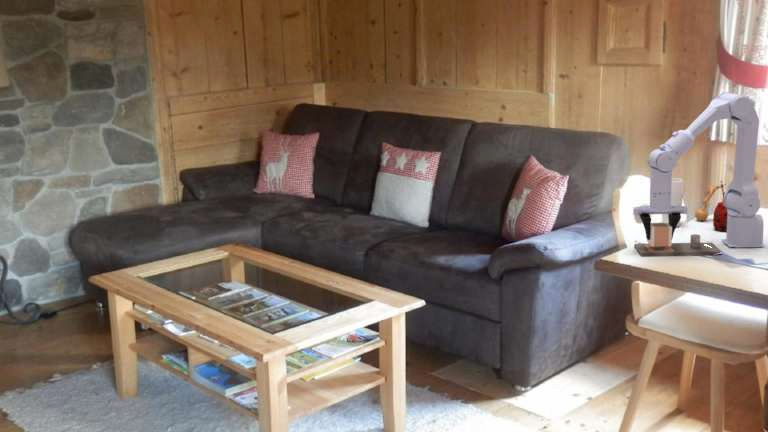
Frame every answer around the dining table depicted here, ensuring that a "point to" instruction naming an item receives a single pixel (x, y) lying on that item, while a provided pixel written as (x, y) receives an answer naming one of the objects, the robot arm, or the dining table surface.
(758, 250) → the dining table surface
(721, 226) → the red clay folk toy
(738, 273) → the dining table surface
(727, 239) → the robot arm
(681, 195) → the white tall cup
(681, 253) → the pin board
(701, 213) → the tan bulb-shaped piece
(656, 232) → the sleeve
